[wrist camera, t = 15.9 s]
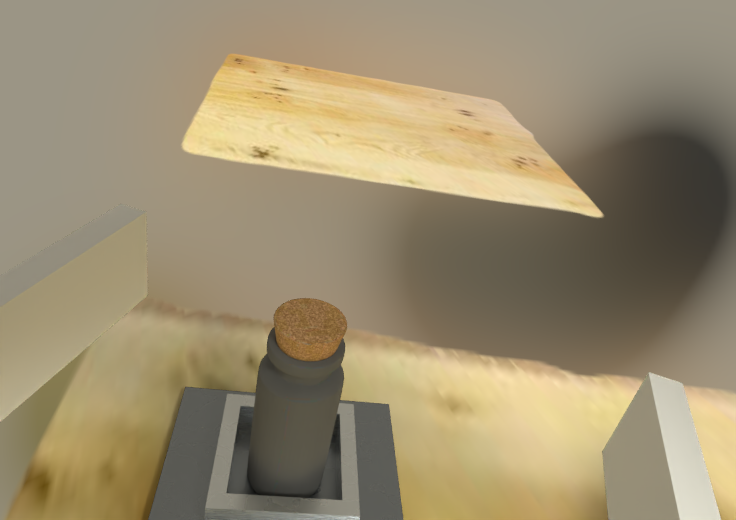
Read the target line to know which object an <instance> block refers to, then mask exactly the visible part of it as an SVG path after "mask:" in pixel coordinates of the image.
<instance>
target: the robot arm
mask: <svg viewBox="0 0 736 520" xmlns="http://www.w3.org/2000/svg"><path fill="white" fill-rule="evenodd" d="M146 222H147V216H146V212H145V211H142V210H139V209H136V208H133V207H130V206H127V205H124V204H120V205H118V206H116V207H115V208H113V209H111V210H110V211H108V212H106V213H105V214H103V215H101V216H99V217H98V218H96V219H94V220H93V221H91V222H89V223H88V224H86V225H84V226H83V227H81V228H79V229H77V230H76V231H74V232H72V233H71V234H69V235H67V236H66V237H64V238H62V239H61V240H59V241H57V242H56V243H54V244H52V245H51V246H49V247H47V248H46V249H44V250H42V251H40V252H39V253H37V254H36V255H34V256H32V257H30V258H29V259H27V260H26V261H24V262H22V263H20V264H19V265H17V266H15V267H14V268H12V269H10V270H8V271H7V272H5V273H3V274H2V275H0V422H1V421H2V420H3V419H4V418H5V417H7V416H8V415H9V414H10V413H11V412H12V411H14V410H15V409H16V408H17V407H18V406H20V405H21V404H22V403H23V402H24V401H25V400H26V399H28V398H29V397H30V396H31V395H32V394H34V393H35V392H36V391H37V390H38V389H39V388H41V387H42V386H43V385H44V384H45V383H46V382H47V381H49V380H50V379H51V378H52V377H53V376H55V374H57V373H58V372H59V371H60V370H61V369H63V368H64V367H65V366H66V365H67V364H69V363H70V362H71V361H72V360H73V359H74V358H76V357H77V356H78V355H79V354H80V353H81V352H83V351H84V350H85V349H86V348H87V347H88V346H90V345H91V344H92V343H93V342H94V341H95V340H97V339H98V338H99V337H100V336H101V335H102V334H104V333H105V332H106V331H107V330H108V329H109V328H111V327H112V326H113V325H114V324H115V323H116V322H118V321H119V320H120V319H121V318H122V317H123V316H125V315H126V314H127V313H128V312H129V311H130V310H132V309H133V308H134V307H135V306H136V305H137V304H139V303H140V302H141V301H142V300H143V299H144V298H146V297H147V296H148V280H147V278H148V277H147V223H146ZM602 454H603V465H604V477H605V488H606V499H607V511H608V520H721V517H720V513H719V510H718V506H717V503H716V499H715V496H714V492H713V489H712V485H711V482H710V478H709V475H708V471H707V468H706V464H705V461H704V457H703V454H702V450H701V447H700V443H699V440H698V436H697V433H696V429H695V425H694V422H693V418H692V415H691V411H690V408H689V404H688V401H687V397H686V394H685V390H684V387H683V384H682V383H681V382H677V381H674V380H671V379H668V378H665V377H662V376H658V375H656V374H652V373H648V374H647V376H646V378H645V379H644V381H643V383H642V385H641V386H640V388H639V390H638V391H637V393H636V395H635V397H634V398H633V400H632V402H631V403H630V405H629V407H628V409H627V410H626V412H625V414H624V415H623V417H622V419H621V420H620V422H619V424H618V426H617V427H616V429H615V431H614V432H613V434H612V436H611V438H610V439H609V441H608V443H607V444H606V446H605V448H604V450H603V451H602Z"/></svg>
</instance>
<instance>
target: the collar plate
mask: <svg viewBox="0 0 736 520" xmlns="http://www.w3.org/2000/svg"><path fill="white" fill-rule="evenodd" d="M255 395H256V393H250V392H239V391H227V390H215V389H204V388H192V387H185V391H184V394H183V398H182V401H181V405H180V408H179V412H178V416H177V419H176V423H175V426H174V430H173V433H172V437H171V440H170V444H169V448H168V451H167V455H166V458H165V462H164V465H163V469H162V472H161V476H160V480H159V483H158V487H157V490H156V494H155V497H154V501H153V505H152V508H151V512H150V515H149V519H148V520H403V513H402V505H401V497H400V489H399V482H398V474H397V466H396V458H395V450H394V442H393V434H392V426H391V418H390V410H389V404H379V403H367V402H355V401H344V400H340V402H339V406H338V411H337V415H336V420H335V425H334V429H333V434H332V438H331V443H330V447H329V452H328V456H327V461H326V465H325V469H324V473H323V477H322V480H321V483H320V485H319V487H318V489H317V490H316V492H315V493H314V494H313V495H311V496H310V497H309V498H298V497H281V496H264V495H258V494H257V493H256V492H255V491H254V489H253V488H252V486H251V485H250V482H249V479H248V474H247V468H248V456H249V447H250V438H251V429H252V420H253V411H254V403H255Z"/></svg>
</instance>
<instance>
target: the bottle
mask: <svg viewBox="0 0 736 520" xmlns="http://www.w3.org/2000/svg"><path fill="white" fill-rule="evenodd" d="M274 326H275V327H274V328H273V329H272V330H271V332H270V334H269V336H268V341H267V354H266V355H265V357H264V358H263V359H262V361H261V363H260V366H259V371H258V378H257V386H256V395H255V403H254V411H253V420H252V429H251V438H250V447H249V456H248V468H247V474H248V479H249V482H250V485H251V486H252V488H253V489H254V491H255V492H256V493H257V494H258V495H264V496H281V497H298V498H309V497H310V496H311V495H313V494H314V493H315V492H316V490H317V489H318V487H319V485H320V483H321V480H322V477H323V473H324V469H325V465H326V461H327V456H328V452H329V447H330V443H331V438H332V434H333V429H334V425H335V420H336V415H337V411H338V406H339V402H340V397H341V392H342V387H343V381H344V373H343V369H342V366H341V363H342V360H343V357H344V353H345V343H344V339H343V336H344V334H345V332H346V329H347V322H346V319H345V316H344V315H343V314H342V312H341V311H340V310H339V309H337V308H336V307H335V306H333V305H331V304H329V303H327V302H324V301H321V300H317V299H310V298H300V299H294V300H290V301H288V302H286V303H283V304H282V305H281V306H280V307H278V309H277V310H276V312H275V314H274Z"/></svg>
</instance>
